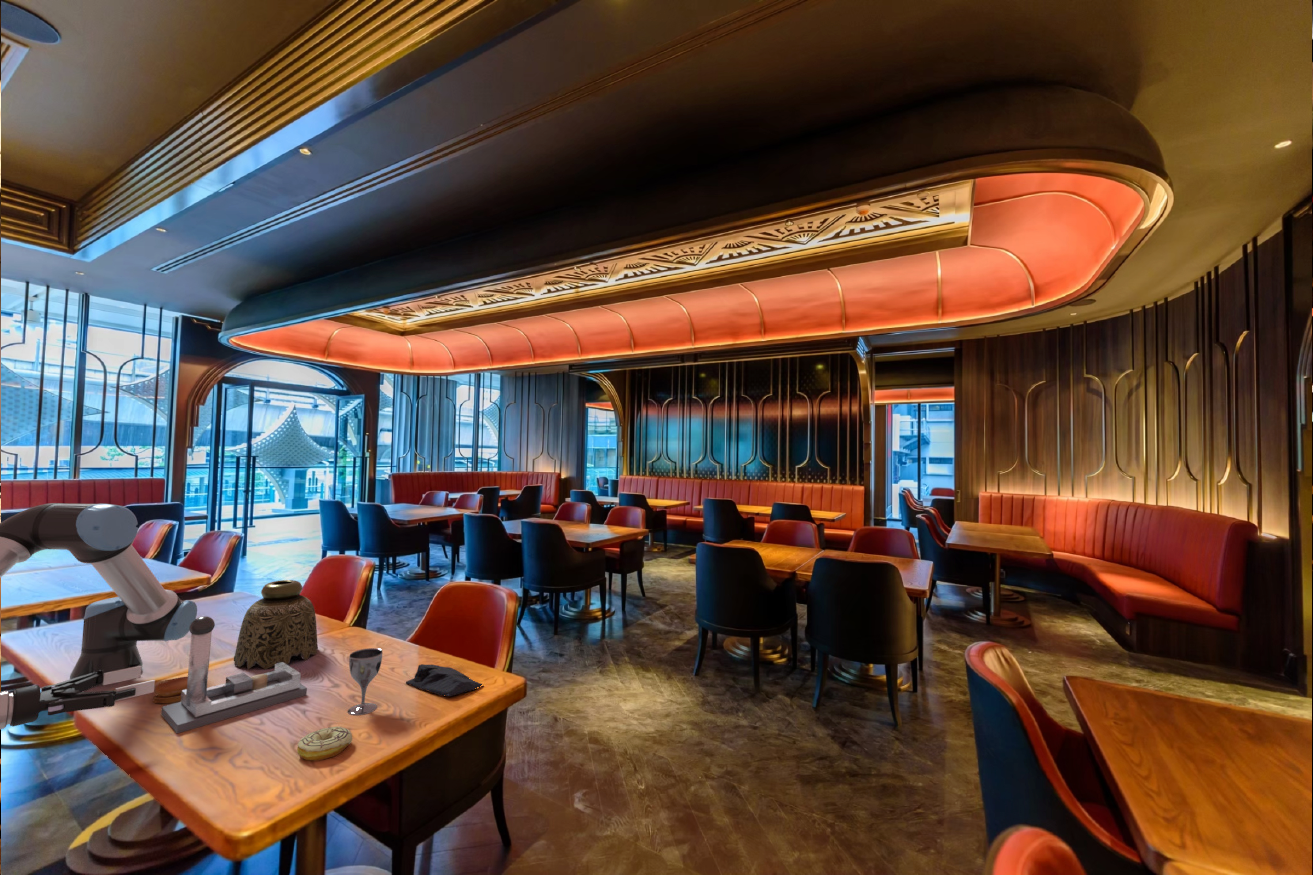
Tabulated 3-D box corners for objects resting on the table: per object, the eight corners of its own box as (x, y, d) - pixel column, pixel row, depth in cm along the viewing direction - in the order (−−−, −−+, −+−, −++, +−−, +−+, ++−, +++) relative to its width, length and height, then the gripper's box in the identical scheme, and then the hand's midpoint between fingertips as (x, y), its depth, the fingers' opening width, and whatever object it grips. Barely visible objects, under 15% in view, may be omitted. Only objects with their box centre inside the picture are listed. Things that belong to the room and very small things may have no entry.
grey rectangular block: (224, 695, 143) (226, 677, 143) (242, 690, 146) (243, 672, 146) (233, 703, 139) (234, 683, 139) (251, 698, 142) (252, 679, 142)
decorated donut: (361, 745, 125) (362, 729, 125) (317, 768, 115) (319, 750, 115) (331, 735, 129) (332, 719, 129) (286, 756, 119) (288, 739, 119)
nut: (246, 691, 146) (247, 677, 146) (263, 687, 149) (264, 672, 149) (251, 695, 143) (252, 681, 144) (268, 691, 147) (269, 676, 147)
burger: (187, 703, 142) (188, 685, 143) (144, 707, 139) (145, 689, 140) (205, 688, 152) (206, 672, 152) (165, 691, 149) (166, 675, 149)
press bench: (161, 714, 135) (161, 706, 135) (285, 680, 158) (286, 674, 158) (176, 733, 127) (177, 725, 127) (306, 695, 149) (306, 687, 149)
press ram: (175, 703, 137) (183, 613, 138) (281, 675, 156) (287, 597, 158) (189, 718, 129) (198, 623, 131) (299, 687, 149) (305, 605, 150)
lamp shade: (293, 640, 192) (298, 572, 194) (332, 652, 182) (337, 580, 184) (218, 660, 171) (224, 584, 173) (257, 675, 161) (263, 593, 163)
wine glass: (341, 717, 137) (345, 659, 138) (350, 703, 145) (354, 648, 146) (374, 714, 139) (378, 657, 140) (382, 701, 147) (385, 647, 148)
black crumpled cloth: (442, 705, 147) (443, 688, 147) (401, 683, 160) (402, 668, 160) (488, 687, 160) (488, 672, 160) (447, 669, 172) (447, 654, 173)
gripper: (3, 709, 118) (134, 680, 135) (13, 746, 103) (158, 709, 120) (6, 675, 118) (136, 651, 135) (17, 707, 104) (161, 675, 121)
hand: (147, 678), depth 128 cm, fingers open, 13 cm apart
